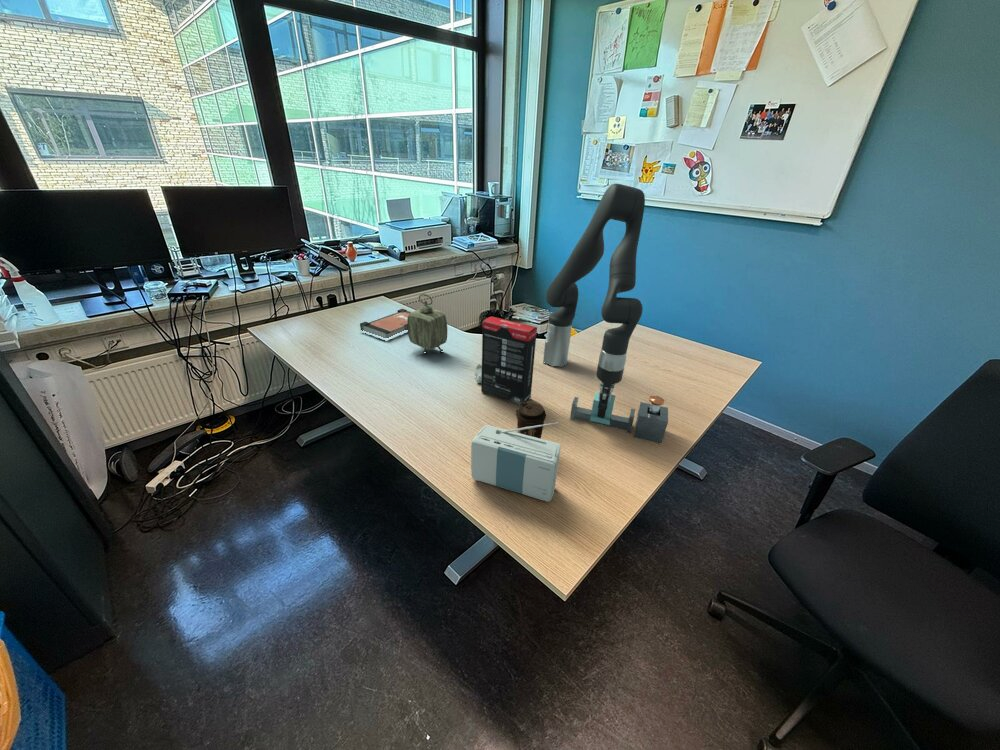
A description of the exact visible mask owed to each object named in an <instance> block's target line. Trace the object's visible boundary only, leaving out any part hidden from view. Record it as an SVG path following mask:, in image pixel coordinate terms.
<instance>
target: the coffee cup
mask: <svg viewBox="0 0 1000 750" xmlns="http://www.w3.org/2000/svg"><path fill="white" fill-rule="evenodd" d="M518 407H519V408H517V409H516V410H515V416H516V420H517V424H516V425H517V426H516V429H518V428H524V427H530V426H537V425H544V424H545V420H546V418H547V412H546V409H545V408H544V406H543V405H542V404H541V403H539V402H536V401H527V402H525V403H521V404H520V405H519V406H518ZM543 431H544V426H541V427H535V428H530V429H524V430H518V431H517V433H520V434H524V435H528V436H532V437H536V438H539V439H542V435H543Z"/></svg>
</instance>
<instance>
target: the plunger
mask: <svg viewBox="0 0 1000 750" xmlns="http://www.w3.org/2000/svg"><path fill="white" fill-rule="evenodd" d="M649 402H650V404H651V406H650V410H649V413H648V414H653V415H658V412H659V409H660V406H663V405H664V404H665V399H664V398H663V397H661V396H659V395H651V396H650V397H649Z"/></svg>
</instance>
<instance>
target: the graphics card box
mask: <svg viewBox="0 0 1000 750" xmlns="http://www.w3.org/2000/svg"><path fill="white" fill-rule="evenodd" d="M481 327H482V330H481V331H482V333H481V335H482V338H481V340H482V341H481V342H482V343H481V344H482V345H481V348H482V349H481V361H482V381H481V383H480V384H481V389H480V390H481V393H485V394H487V395H489V396H492V397H495V398H499V399H501V400H505V401H507V402H510V403H513V404H516V405H519V406H520V404H521V403H525V402H529V400H531V399H532V398H531V397H532V386H533V377H534V376H533V375H534V365H535V364H534V363H535V353H536V345H537V336H538V335H537V333H538V327H537V326H533V325H530V324H525V323H521V322H516V321H512V320H508V319H505V318H499V317H497V316H496V317H495V316H489V317H487V318H485V319H483V320H482V326H481Z"/></svg>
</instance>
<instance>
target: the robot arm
mask: <svg viewBox="0 0 1000 750" xmlns="http://www.w3.org/2000/svg"><path fill="white" fill-rule="evenodd" d="M645 204H646V197H645V193H644V192H643V190H642V189H639V188H637V187H634V186H630V185H624V184H621V183H612V184H610V185H609V187H607V189H606V190H605V191H604V193H603V195H602V197H601V199H600V200H599V202H598V204H597V207H596V209H595V211H594V212H593V215H592V217H591V220H590V221H589V223H588V224H587V227H586V228H585V230H584V232H583V234H582V235H581V237H580V239H579V240H578V242H577V243H576V244H575V246H574V247H573V250H572V251H571V253H570V255H569V257H568V259H566V261H565V263H564V265H563V266H562V268H561V269H560V271H559V272H558V273H557V275H556V276H555V277H554V278H553V280H552V281H551V282H550V284H549V285H548V287H547V290H546V294H545V299H546V303H547V304H548V305H549V307H552V308H557V309H556V310H555V311H553V312H551V313H550V314H549V316H548V321H547V322H548V323H547V324H548V325H547V333H546V339H545V342H544V350H543V360H542V363H543V362H545V363H544V364H546V363H547V364H549V365H551V366H550V367H553V366H562V367H565V366H567V364H568V358H569V350H570V342H571V336H572V327H573V321H574V319H575V318H576V317H575V316H576V311H577V306H578V300H579V288H578V286H577V284H576V283H577V282H578V281H580V280H581V279H583V278H584V277H586V276H588V275H589V274H590V273H591V272H592V271H593V270H594V269H595V268H596V267H597V265H598V264H599V262H600V261H601V259H602V258H603V256H604V252H605V241H604V228H605V227H606V225H607V223H608V222H609V221H610V220H613V221H618V222H622V223H625V233H624V234H623V237H622V239H621V241H620V242H619V244H618V245H617V246H616V248H615V250H614V251H613V253H612V255H611V257H610V260H609V270H608V271H609V273H608V276H609V277H608V287H607V292H606V295H605V298H604V301H603V304H602V307H601V313H600V314H601V317H602V319H603V321H604V322H606V323H607V324H608V323H609V324H621V325H620V326H618V327H614V328H609V329H607V330H605V331H604V335H603V337H602V338H603V340H602V345H601V349H600V350H601V351H600V353H599V357H598V363H597V369H596V373H595V375H596V378H597V380H599V381H601V382H600V385H599V392H600V393H599V404H598V408H599V409H598V415H597V417H600V418H604V417H605V413H606V409H607V407H608V406H607V404H608V402H609V401H610V399H611V395H613V394H612V393H613V392H614V388H615V384H618V383H621V381H622V380H623V377H624V376H623V375H624V371H625V365H626V361H627V354H628V353H627V352H628V348H629V343H630V339H631V337H632V335H633V332H634V330H635V329H636V327H637V326H638V323H639V321H640V319H641V317H642V315H643V311H644V310H643V304H642V302H641V300H639V298H635V297H620V296H619V297H618V296H617V295H618V294H620V293H625V292H630V291H632V290H634V289H635V287H636V282H637V280H636V279H637V278H636V277H637V253H638V246H639V241H640V235H641V231H642V230H641V229H642V225H643V220H644V213H645V206H646V205H645ZM547 364H546V365H547ZM549 365H548V366H549ZM564 365H565V366H564Z"/></svg>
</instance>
